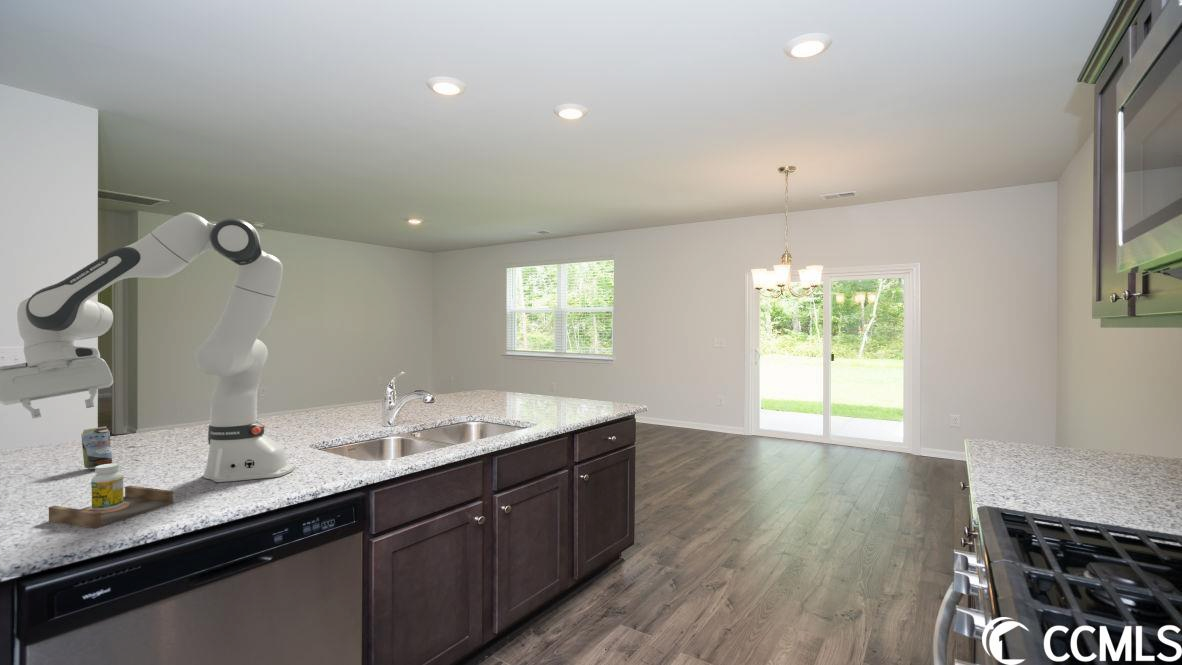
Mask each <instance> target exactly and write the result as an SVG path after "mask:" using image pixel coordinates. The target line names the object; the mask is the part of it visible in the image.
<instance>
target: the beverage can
mask: <svg viewBox="0 0 1182 665" xmlns="http://www.w3.org/2000/svg"><path fill="white" fill-rule="evenodd" d="M111 444H112V442H111V434H110V430H109V429H108V428H107V426H101V427H100V426H99V427H92V428H86V429H83V431H82V433H81V445H82V447H81V448H82V457H83V466H84V467H83V468H84V469H88V470H95V467H96V466H99V465H104V464H113V453H112V446H111Z"/></svg>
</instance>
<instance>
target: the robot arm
mask: <svg viewBox="0 0 1182 665" xmlns="http://www.w3.org/2000/svg"><path fill="white" fill-rule="evenodd" d="M260 238H261V237H260V235H259V232H258V231H257V229H256V228H255V227H254V226H253V225H252V224H251V223H249V222H247V221H246V220H243V219H239V218H225V219H222V220H220V221H218V222H217V223H211V222H209V221H208V220H206V219H205V218H204V217H202V216H201V215H199V214H196V213H194V212H188V211H187V212H181V213H179V214H177V215H176V216H174V217H172V218H170V219H168V220H166V221H165V222H164V223H162V224H160V225H159V226H157V227H156V228H154V229H153V230H152V231H151V232H149V233H148V234H146V235H145V236H144V237H142V238H140V239H138V240H137V241H135V242H133V243H131V244H129V245H126V246H124V247H120V248H116V249H114V250H111V251H110V252H108V253H106V254H104V255H103V256H101V257H98V259H96V260H94V261H93V262H91V263H90V264H87V265H86V266H84V267H82V268H81V269H80V270H78V271H76V272H75V273H73V274H72V275H70V276H69V277H67V278H65V279H63V280H61V281H59V282H57V283H54V284H52V285H49V286H45V287H43V288H41V289H38V290H37V291H36V292H35V293H33V294H32V295H30V297H28V298H26V299H23V300H22V301H21V302H20V303H19V305H18V307H17V312H16V317H17V318H16V320H17V326H18V330H19V332H18V333H19V335H20V337H21V339H22V340H23V343H24V346H23V353H24V359H25V362H23V363H22V362H21V363H17V364H16V363H15V364H10V365H1V366H0V404H2V405H4V406H8V405H9V406H10V405H14V404H15V405H16V404H20V403H21V404H22V406H23V408H24V409H26V410H27V411H28V412H30V414H31V417H32V419H37V418H41V417H42V414H41V409H40V408H33V406H32V401H38V400H44V399H48V398H54V397H61V396H66V395H71V394H77V393H83V392H88V394H89V395H90V396H89V398H88V399H84V403H85V408H86V409H88V408H94V407H95V403H94V400H95V398H96V396H97V394H98V391H97V390H100V389H107V388H110V387H111V386H112V385H113V384H114V378H113V374H112V371H111V369H110V366H109V365H108V364H107V362H106V360H105V359H103V358H102V357H101V353H100V350H99V349H98V348H96V347H85V346H74V342H75V341H79V340H81V341H82V340H87V339H94V338H99V337H102V336H104V335H106V333H108V332H109V331H110V330H111V329H112V327H113V324H114V323H115V322H114V321H115V315H114V313H113V310H112V309H111V308H110V307H109V306H108V305H106V304H103V303H102V302H99V301H97V300H94V299H92V298H94V297H95V296H97V294H99V293H100V292H103V291H104V290H106V289H107V288H108V287H110V286H112V285H113V284H115V283H116V282H119V281H121V280H124V279H125V280H126V279H131V278H132V279H133V278H150V279H167V278H169V277H172V276H174V275H176V274H178V273H179V272H181V271H182V270H183V269H185V268H186V267H187V266H189V264H191V263H192V262H194V261H195V260H196V259H197V258H198V257H200V256H201V255H203V254H204V253H206V252H209V251H214V252H215V251H216V252H217V253H219V254H220V255H221V256H223V257H224V258H226V259H228V260H230V261H231V262H233V263H235V265H237V274H236V276H235V279H234V282H233V285H232V287H231V288H232V289H231V291H230V294H229V297H228V300H227V301H226V302H227V303H226V305H225V308H224V309H223V313H222V314H221V316H220V318H219V320H218V322H217V323H216V325H215V327H214V328H213V330H212V331H211V332H210V334H209V335H208V337H207V339H206V340H205V341H203V343H201V344H200V345H199V346H198V347H197V349H196V351H195V353H194V363H195V365H196V367H197V368H198V369H199V371H201V373H203V374H205V375H207V376H212V377H218V380H217V382H216V386H215V388H214V391H213V392H212V394H211V396H210V399H209V401H210V402H209V404H210V408H209V409H210V416H209V417H210V418H209V422H210V424H209V425H208V431H207V440H208V445H209V448H208V456H207V461H206V466H205V469H204V473H203V475H202V476H203V478H204V479H208V480H212V481H213V482H215V483H223V482H237V481H246V480H247V481H248V480H258V479H268V478H269V479H271V478H280V477H283V476H285V475H288V474H289V473H291V472H292V471H294V470H295V469H296V466H297V465H296V462H295V461H293V460H292V461H291V460H288V456H287V455H288V454H287V451H286V448H285V447H284V445H282V444H281V443H278V442H277V441H276V440H274V439H273V438H271V437H269V436H267V435H266V434H265V428H266V427H267V425H266V423H263V424H262V423H260V422H259V421H258V419H257V418H258V417H257V416H258V415H257V414H258V392H259V388H260V387H259V386H260V382H261V378H262V374H263V369H264V365H265V363H266V362H267V360H268V356H269V351H268V347H267V345H266V344H265V343H264V342H263V341H262V340H260V339H258V337H259V336H260V334H261V333H262V331H263V329H265V327H267V325H268V324H269V323H270V319H271V316H272V314H273V311H274V308H275V306H276V302H277V298H278V296H279V293H280V289H281V286H282V281H283V271H284V266H283V263H282V262H281V261H280V260H279V258H277V257H276V256H275V255H272V254H270V253H267V252H265V251H263V250H262V247H261V241H260V240H261V239H260Z"/></svg>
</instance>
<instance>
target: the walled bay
mask: <svg viewBox="0 0 1182 665" xmlns="http://www.w3.org/2000/svg"><path fill="white" fill-rule="evenodd" d="M173 504H174V490H169V489H168V490H167V489H160V488H152V487H144V486H136V485H126V486H124V496H123V505H122V506H120V507H118V508H115V509H111V510H104V511H95V510H93V509H92V505H90V506H87V507H83V508H72V507H66V506H59V505H52V506H48V522H52V521H53V522H54V523H61V524H65V523H66V525H71V524H73V526H77V525H79V526H80V527H84V526H85V527H84V528H90V527H91V528H90V529H98V528H101V527H105V526H108V525H110V524H115V523H116V522H120V521H123V520H126V519H129V518H133V517H136V516H139V515H142V514H145V513H147V512H152V511H154V510H157V509H160V508H164V507H167V506H170V505H173ZM53 522H52V523H53ZM79 526H78V527H79Z"/></svg>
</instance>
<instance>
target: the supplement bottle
mask: <svg viewBox="0 0 1182 665" xmlns="http://www.w3.org/2000/svg"><path fill="white" fill-rule="evenodd" d="M119 470H120V464H119V463H113V462H112V463H111V464H104V465H99V466H96V467H95V469H94V472H95V474H96V475H94V476H92V478H91V481H90V483H91V506H92V509H93V510H95V511H104V510H111V509H115V508H118V507H120V506H122V505H123V497H124V476H123V475H124V474H123V473H121V472H119Z"/></svg>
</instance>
